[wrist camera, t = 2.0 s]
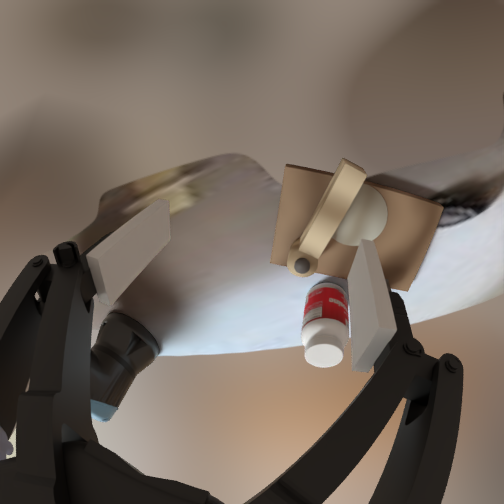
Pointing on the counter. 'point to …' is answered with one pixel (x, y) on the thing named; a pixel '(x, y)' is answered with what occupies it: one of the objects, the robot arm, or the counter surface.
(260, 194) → the counter surface
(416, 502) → the robot arm
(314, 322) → the pill bottle
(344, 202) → the leg bar
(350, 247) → the board
